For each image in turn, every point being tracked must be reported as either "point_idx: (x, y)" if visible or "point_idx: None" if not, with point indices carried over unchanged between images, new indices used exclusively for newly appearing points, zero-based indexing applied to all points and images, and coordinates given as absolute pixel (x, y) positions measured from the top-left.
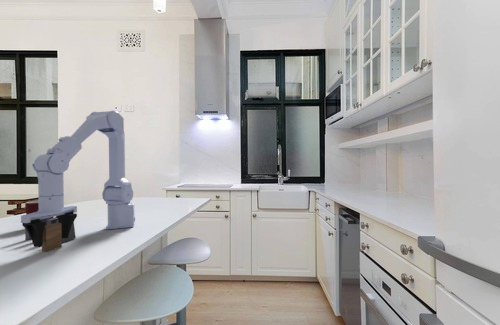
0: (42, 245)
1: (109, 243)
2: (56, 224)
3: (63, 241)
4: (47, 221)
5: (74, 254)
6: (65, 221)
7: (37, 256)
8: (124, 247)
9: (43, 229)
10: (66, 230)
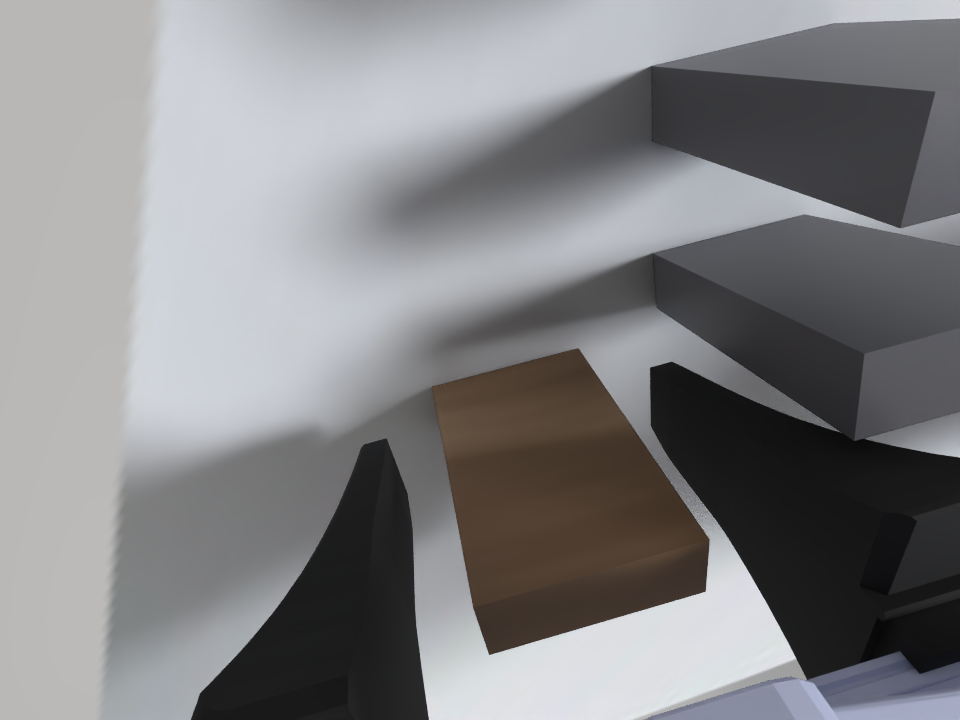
0: (440, 426)
1: (719, 579)
2: (634, 608)
3: (669, 310)
4: (896, 99)
5: None
6: (781, 568)
7: None
8: (672, 674)
9: (421, 695)
10: (700, 487)
